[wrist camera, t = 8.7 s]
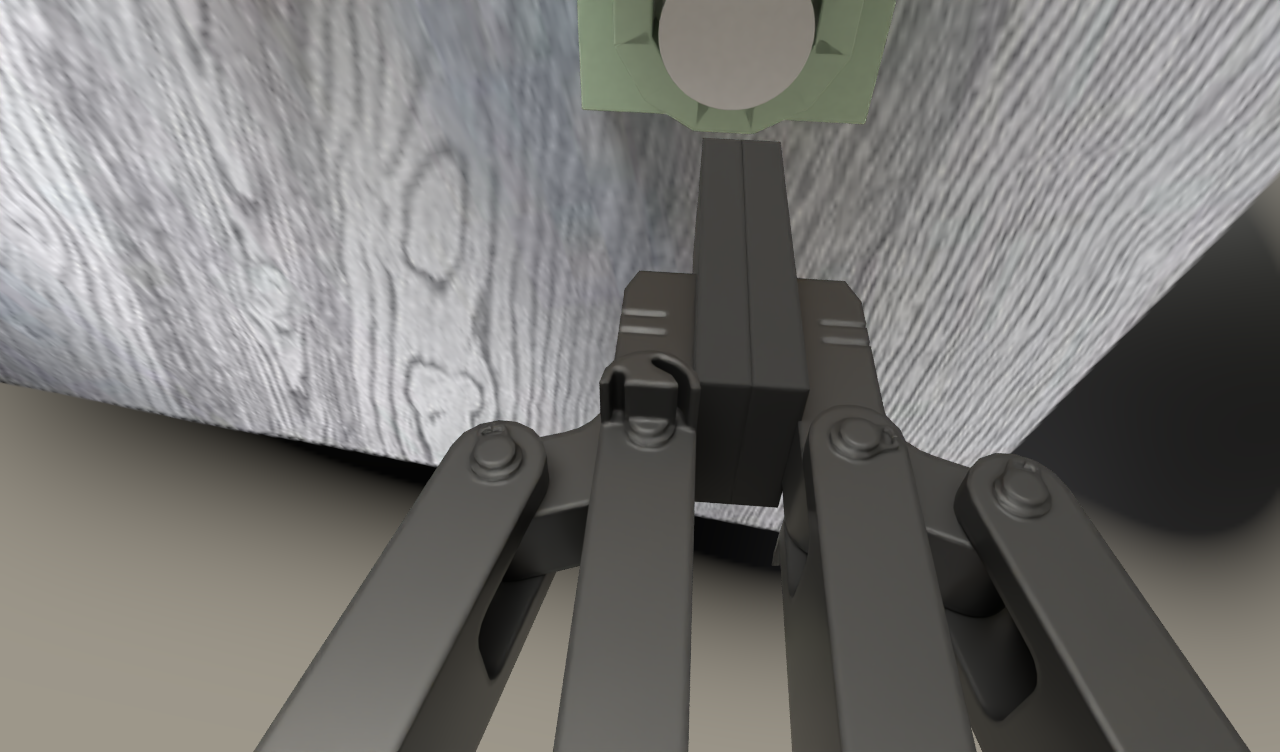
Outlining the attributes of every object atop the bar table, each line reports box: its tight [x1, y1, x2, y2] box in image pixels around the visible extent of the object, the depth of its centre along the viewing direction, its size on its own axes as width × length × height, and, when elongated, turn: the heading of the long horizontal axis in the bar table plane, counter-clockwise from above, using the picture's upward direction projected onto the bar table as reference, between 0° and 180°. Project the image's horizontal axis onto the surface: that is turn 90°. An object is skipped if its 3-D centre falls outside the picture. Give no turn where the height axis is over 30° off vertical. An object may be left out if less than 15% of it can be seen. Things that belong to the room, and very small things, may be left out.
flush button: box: [658, 0, 815, 110], centre depth 21 cm, size 4×4×2 cm
